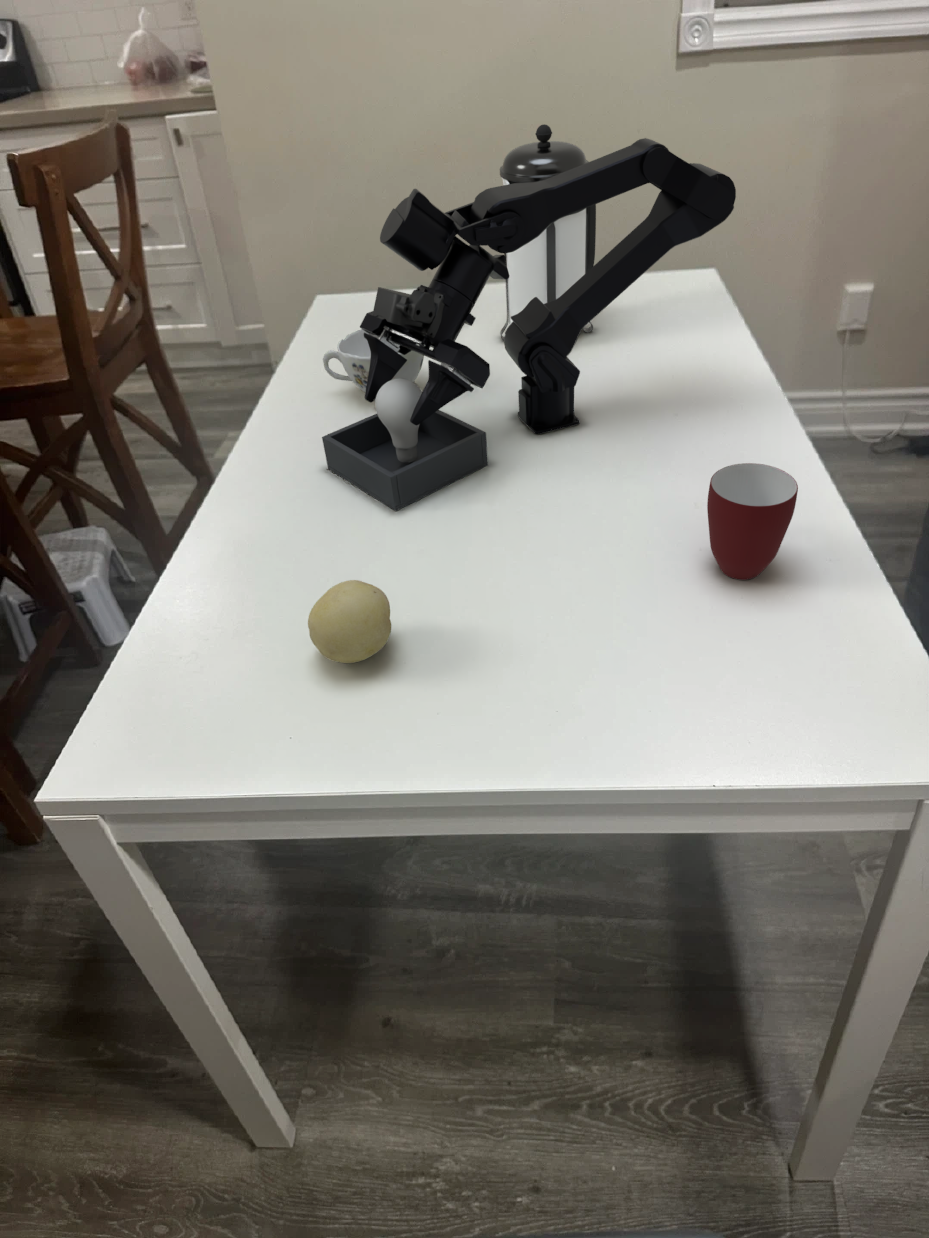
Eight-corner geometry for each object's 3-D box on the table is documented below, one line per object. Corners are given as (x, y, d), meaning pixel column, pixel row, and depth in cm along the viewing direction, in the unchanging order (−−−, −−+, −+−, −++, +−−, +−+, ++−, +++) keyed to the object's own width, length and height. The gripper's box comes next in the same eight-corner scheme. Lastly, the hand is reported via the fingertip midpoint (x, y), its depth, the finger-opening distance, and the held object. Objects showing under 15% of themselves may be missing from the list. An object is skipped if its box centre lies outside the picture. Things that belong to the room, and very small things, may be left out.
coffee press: (604, 350, 133) (611, 130, 114) (501, 357, 134) (490, 140, 115) (593, 309, 146) (597, 107, 127) (499, 316, 147) (489, 115, 128)
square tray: (417, 428, 118) (413, 397, 115) (488, 465, 109) (486, 432, 106) (327, 469, 111) (321, 436, 108) (395, 511, 102) (390, 477, 99)
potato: (408, 666, 81) (398, 599, 76) (327, 691, 79) (310, 624, 74) (385, 619, 86) (374, 554, 81) (309, 641, 85) (292, 576, 80)
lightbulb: (440, 464, 108) (432, 382, 101) (397, 480, 106) (385, 396, 99) (418, 446, 113) (408, 365, 106) (376, 460, 110) (363, 379, 103)
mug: (686, 536, 94) (694, 454, 87) (760, 530, 93) (774, 447, 87) (710, 596, 85) (722, 510, 79) (792, 589, 85) (810, 502, 79)
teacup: (432, 371, 132) (427, 319, 127) (429, 408, 122) (423, 353, 117) (335, 378, 133) (325, 327, 128) (324, 415, 123) (313, 361, 118)
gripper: (361, 241, 101) (299, 361, 103) (463, 273, 90) (391, 407, 92) (420, 290, 110) (362, 400, 112) (520, 325, 99) (454, 447, 100)
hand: (389, 412), depth 104 cm, fingers open, 9 cm apart
